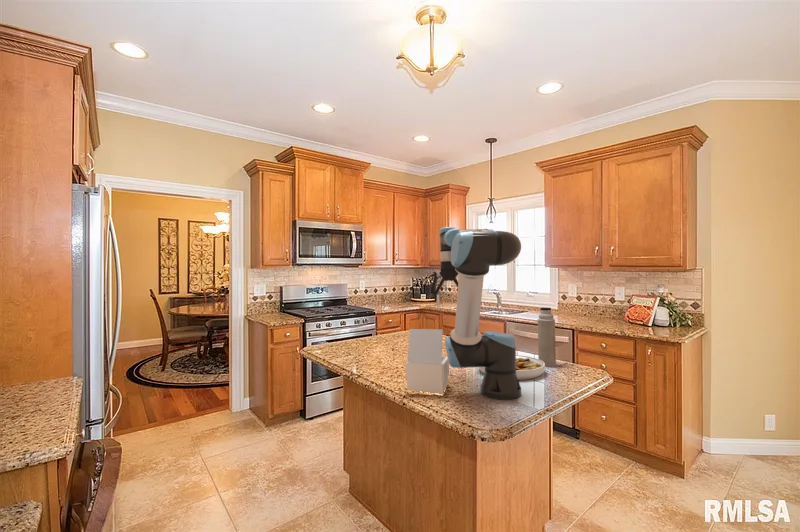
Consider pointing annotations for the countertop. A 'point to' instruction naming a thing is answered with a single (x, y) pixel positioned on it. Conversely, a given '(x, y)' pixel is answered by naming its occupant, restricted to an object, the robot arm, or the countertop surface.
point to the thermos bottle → (546, 338)
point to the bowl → (526, 367)
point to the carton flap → (425, 346)
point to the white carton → (428, 376)
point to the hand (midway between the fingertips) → (449, 308)
